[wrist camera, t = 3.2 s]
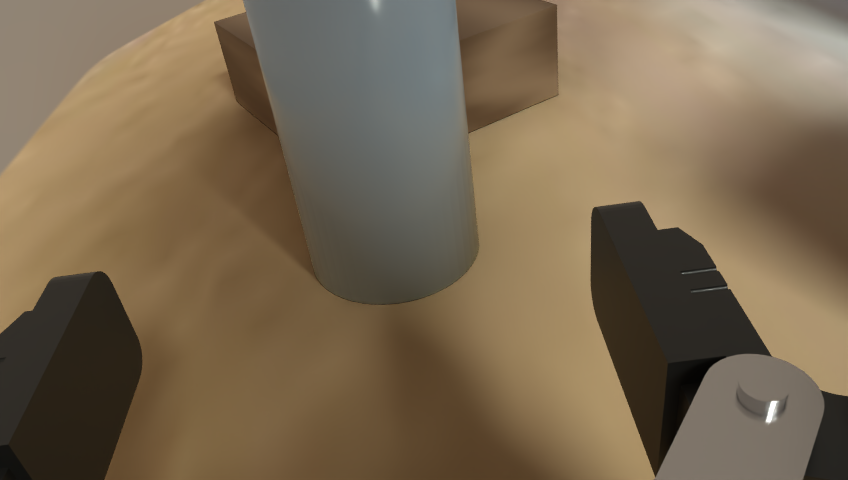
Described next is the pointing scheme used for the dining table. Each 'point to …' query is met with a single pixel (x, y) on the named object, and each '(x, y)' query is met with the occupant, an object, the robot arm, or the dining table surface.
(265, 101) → the block
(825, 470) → the robot arm
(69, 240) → the dining table surface
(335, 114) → the tumbler
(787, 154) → the dining table surface
